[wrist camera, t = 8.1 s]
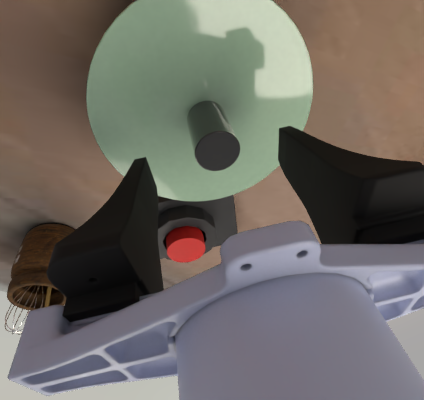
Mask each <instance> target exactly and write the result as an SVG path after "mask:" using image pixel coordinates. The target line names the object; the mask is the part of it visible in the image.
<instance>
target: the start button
mask: <svg viewBox="0 0 424 400" xmlns="http://www.w3.org/2000/svg"><path fill="white" fill-rule="evenodd" d="M166 245H167V255H168V256H169V258H170V259H172V260H174V261H176V262H190V261H194V260H196V259H198V258H200V257H201V256H202V255H203V254H204V252H205V242H204V237H203V233H202V231H201V230H200V229H199V228H197V227H192V226H183V227H178V228H174V229H173V230H171V231H170V232H169V233H168V235H167V237H166Z"/></svg>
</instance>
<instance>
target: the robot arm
mask: <svg viewBox="0 0 424 400" xmlns="http://www.w3.org/2000/svg"><path fill="white" fill-rule="evenodd" d="M278 161H279V163H280V166H281V168H282V170H283V172H284V174H285V176H286V178H287V179H288V181H289V182H290V184H291V186H292V187H293V189H294V190H295V192H296V193H297V195H298V196H299V198H300V200H301V201H302V203H303V204H304V206H305V208H306V210H307V212H308V214H309V216H310V218H311V220H312V222H313V225H314V227H315V229H316V231H317V234H318V236H319V238H320V241H321V243H322V244H319V242H318V240H317V239H316V237H315V235H314V234H313V232H312V230H311V228H310V227H309V225H308V224H306V223H304V222H302V221H287V222H283V223H279V224H274V225H270V226H266V227H261V228H257V229H252V230H248V231H244V232H239V233H237V234H235V235H232V236H230V237H229V238H228V239H227V240H226V241H225V242H224V243H222V245H221V249H220V255H221V264H219V265H217V266H215V267H213V268H210V269H208V270H206V271H204V272H202V273H200V274H197V275H195V276H193V277H191V278H189V279H186V280H184V281H182V282H180V283H178V284H176V285H173V286H171V287H169V288H167V289H165V290H164V288H163V281H162V273H161V264H160V255H159V245H158V206H159V202H158V193H157V186H156V183H155V181H154V178H153V175H152V172H151V170H150V167H149V164H148V161H147V159H146V157H143V158H139V159H134V161H133V163H132V164H131V166H130V168H129V170H128V172H127V173H126V175H125V177H124V178H123V180H122V182H121V183H120V185H119V186H118V188H117V189H116V191H115V192H114V193H113V195H112V196H111V197H110V199H109V200H108V201H107V202H106V203H105V204H104V205H103V207H102V208H101V209H100V210H99V211H98V212H96V213H95V214H94V215H93V216H92V217H91V218H90V219H89V220H88V221H87V222H85V223H84V224H83V225H82V226H80V227H79V228H78V229H77V230H75V231H74V232H72V233H71V234H70V235H68V236H66V237H65V238H63V239H62V240H60V241H59V242H57V243H56V244H55V246H54V249H53V252H52V255H51V258H50V262H49V265H48V269H47V272H46V274H47V278H48V279H49V281H50V282H51V283H52V284H53V285H54V286H55V287H56V288H57V289H58V290H59V291H60V292H61V293H62V294H63V295H64V296H65V297H66V302H65V306H63V305H52V306H48V307H44V308H39V309H35V310H31V311H29V313H28V316H27V319H26V322H25V325H24V328H23V331H22V334H21V337H20V341H19V344H18V347H17V350H16V353H15V356H14V359H13V362H12V365H11V368H10V371H9V374H8V379H9V380H11V381H13V382H16V383H18V384H20V385H23V386H25V387H27V388H30V389H32V390H34V391H36V392H39V393H41V394H43V395H46V396H50V395H54V394H58V393H63V392H68V391H72V390H78V389H83V388H89V387H95V386H102V385H108V384H116V383H124V382H131V381H139V380H147V379H155V378H163V377H170V376H178V385H179V399H180V400H424V380H423V378H422V377H421V375H420V374H419V372H418V371H417V369H416V367H415V366H414V364H413V363H412V361H411V360H410V358H409V356H408V355H407V353H406V352H405V350H404V349H403V347H402V346H401V344H400V342H399V341H398V339H397V338H396V336H395V335H394V333H393V332H392V330H391V328H390V327H389V325H388V324H387V321H390V320H393V319H395V318H398V317H401V316H404V315H406V314H409V313H412V312H415V311H418V310H420V309H423V308H424V165H422V164H421V163H420V162H413V161H400V160H391V159H383V158H377V157H372V156H367V155H363V154H358V153H355V152H351V151H348V150H345V149H341V148H339V147H336V146H333V145H331V144H328V143H326V142H324V141H321V140H319V139H317V138H315V137H313V136H311V135H309V134H307V133H305V132H303V131H301V130H299V129H297V128H294V127H292V126H287V127H282V128H279V144H278Z"/></svg>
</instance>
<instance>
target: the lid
mask: <svg viewBox="0 0 424 400" xmlns="http://www.w3.org/2000/svg"><path fill="white" fill-rule="evenodd" d="M312 96H313V74H312V66H311V61H310V56H309V52H308V50H307V47H306V44H305V42H304V39H303V37H302V35H301V34H300V32H299V30H298V28H297V26H296V25H295V23H294V22H293V21H292V20H291V18H290V17H289V16H288V15H287V13H286V12H285V11H284V10H283V9H282V8H281V7H280V6H278V5H277V4H276V3H275V2H274V1H273V0H135V1H133V2H132V3H130V4H129V5H128V6H127V7H126V8H125V9H124V10H123V11H122V12H121V13H120V14H119V15H118V16H117V17H116V18H115V20H114V21H113V22H112V23H111V25H110V26H109V27H108V29H107V30H106V31H105V33H104V35H103V37H102V39H101V41H100V42H99V44H98V46H97V48H96V50H95V53H94V56H93V59H92V62H91V64H90V69H89V74H88V79H87V90H86V102H87V112H88V117H89V121H90V125H91V129H92V131H93V134H94V136H95V139H96V141H97V143H98V145H99V147H100V149H101V150H102V152H103V154H104V155H105V156H106V158H107V159H108V160H109V162H110V163H111V164H112V165H113V167H114V168H115V169H116V170H117V171H118V172H119V173H120V174H121V175H123V176H124V177H125V175H126V173H127V172H128V170H129V168H130V166H131V164H132V163H133V161H134V159H139V158H143V157H146V159H147V161H148V164H149V167H150V170H151V172H152V175H153V178H154V181H155V183H156V186H157V193H158V196H161V197H164V198H168V199H173V200H180V201H196V202H197V201H209V200H215V199H220V198H224V197H227V196H231V195H233V194H236V193H239V192H241V191H243V190H245V189H247V188H249V187H251V186H253V185H255V184H256V183H258V182H260V181H261V180H262V179H264V178H265V177H266V176H268V175H269V174H270V173H271V172H273V171H274V170H275V169H276V168H277V167H278V166H279V165H280V163H279V161H278V144H279V128H282V127H287V126H292V127H294V128H297V129H299V130H301V131H303V129H304V127H305V125H306V122H307V119H308V115H309V112H310V108H311V102H312Z"/></svg>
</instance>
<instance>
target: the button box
mask: <svg viewBox="0 0 424 400" xmlns="http://www.w3.org/2000/svg"><path fill="white" fill-rule="evenodd" d="M158 202H159V206H158V245H159V255H160V259H162V258H166V259H170V258H169V256H168V255H167V245H166V237H167V235H168V233H169V232H170V231H171V230H173V229H174V228H178V227H183V226H192V227H197V228H199V229H200V230H201V231H202V233H203V237H204V242H205V252H204V254H205V253H207V252H208V251H210V250H211V249H212V247H215V246H220V245H222V243H224V242H225V241H226V240H227V239H228V238H229V237H230V236H232V235H235V234H237V225H236V216H235V206H234V197H233V195H231V196H227V197H224V198H220V199H215V200H209V201H197V202H196V201H180V200H173V199H168V198H164V197H161V196H158ZM170 260H172V259H170Z"/></svg>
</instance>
